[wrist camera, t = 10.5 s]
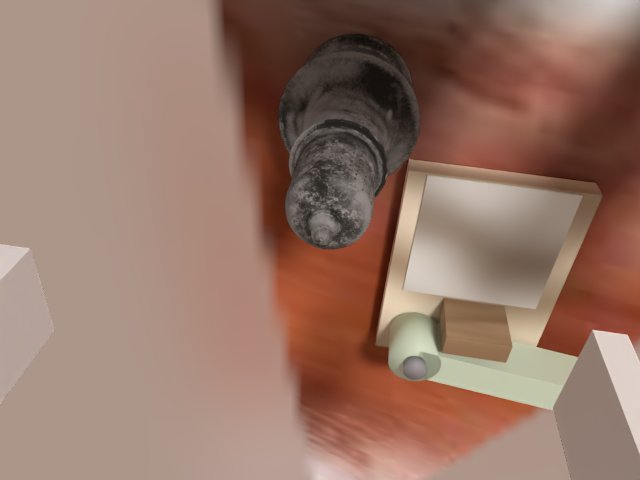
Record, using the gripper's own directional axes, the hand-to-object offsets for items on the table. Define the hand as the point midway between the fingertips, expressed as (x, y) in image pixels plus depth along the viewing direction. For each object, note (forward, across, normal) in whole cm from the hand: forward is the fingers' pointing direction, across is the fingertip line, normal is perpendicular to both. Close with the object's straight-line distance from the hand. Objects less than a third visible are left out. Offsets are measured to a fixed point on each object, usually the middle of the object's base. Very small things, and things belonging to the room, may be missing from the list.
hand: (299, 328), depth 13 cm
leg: (+14, +10, -13) cm, 22 cm away
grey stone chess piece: (+16, 0, 0) cm, 16 cm away
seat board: (+15, +8, -9) cm, 19 cm away
